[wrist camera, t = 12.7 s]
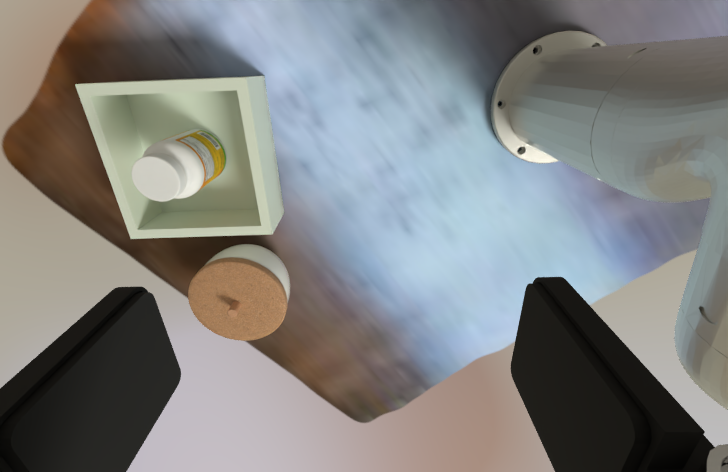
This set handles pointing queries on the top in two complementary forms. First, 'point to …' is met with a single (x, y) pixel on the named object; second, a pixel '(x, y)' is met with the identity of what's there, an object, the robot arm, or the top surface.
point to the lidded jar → (241, 292)
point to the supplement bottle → (179, 165)
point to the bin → (179, 114)
